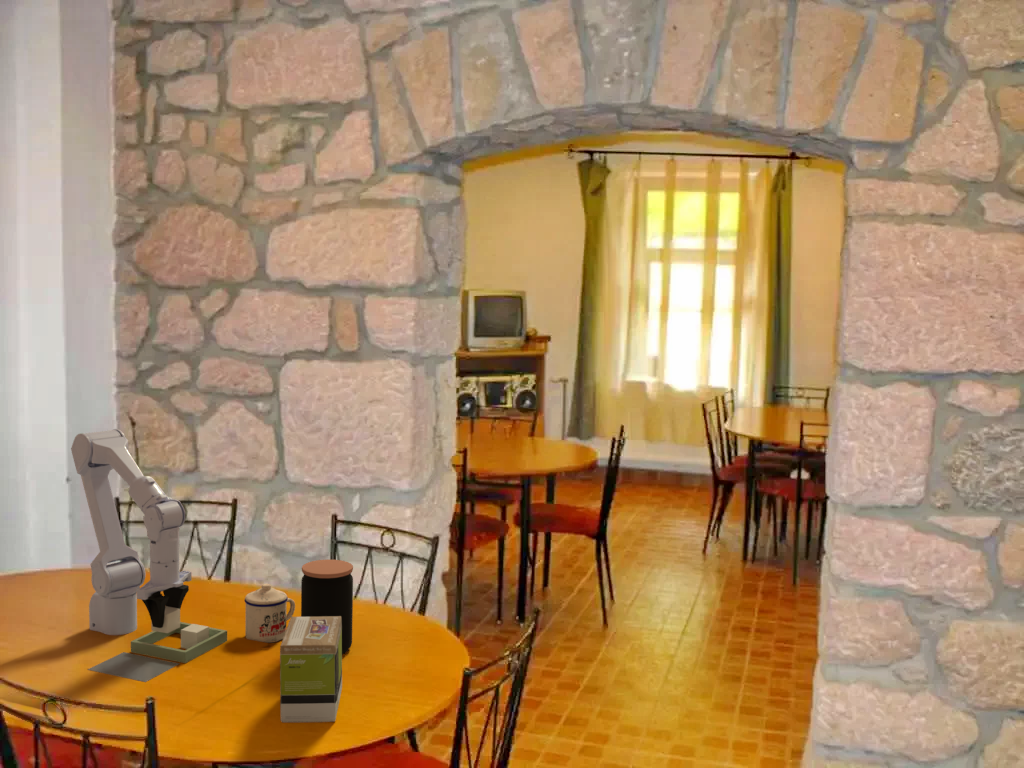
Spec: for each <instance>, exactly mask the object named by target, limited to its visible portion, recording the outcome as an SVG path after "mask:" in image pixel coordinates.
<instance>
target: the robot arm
mask: <svg viewBox="0 0 1024 768" xmlns="http://www.w3.org/2000/svg"><path fill="white" fill-rule="evenodd" d="M70 450H71V455H72V458H73V462H74V466H75V470H76V473H77V474H78V475H80V478H81V483H82V486H83V490H84V493H85V498H86V500H87V505H88V509H89V513H90V518H91V521H92V522H91V523H92V525H93V529H94V533H95V537H96V542H97V544H98V545H97V546H98V549H99V552H98V554H97V555H96V556H95V558H94V559H93V560H92V561H91V562H90V570H91V584H92V588H93V590H94V591H95V592H94V593H93V594H92V595H91V597H90V600H89V605H88V611H89V615H88V618H89V619H88V620H89V626H88V627H89V630H90V631H95V632H98V633H101V634H105V635H108V636H122V635H127V634H130V633H133V632H134V631H137V629H138V607H137V606H138V600H141V601H142V603H143V604H144V605H145V607H146V610H147V611H148V614H149V617H150V620H151V621H152V625H153V627H157V628H162V627H163V624H164V613H165V607H166V606H168V607H173V608H179V609H180V610H181V607H182V604H183V601H184V600H185V597H186V595H187V593H188V592H189V590H190V588H189V585H188V584H184V583H186V582H187V583H188V582H190V581H191V582H192V571H189V570H181V571H180V528H181V527H182V526H183V525H184V524H185V521H186V510H185V508H184V506H183V504H182V502H181V501H180V499H179V500H178V499H176V498H173V497H172V496H171V497H170V496H168V495H167V494H166V493H165V492H164V490H163V489H162V488H161V487H160V486H159V484H158V482H157V481H156V480H155V479H154V478H153V477H152V476H149V475H144V474H143V472H142V470H141V469H140V468H139V466H138V464H137V463H136V461H135V460H134V458H133V456H132V455H131V454H130V452H129V439H128V438H126V436H125V433H123V431H122V430H121V429H119V428H114V429H111V430H104V431H103V430H102V431H96V432H95V431H94V432H88V433H86V432H85V433H83V432H81V433H78V434H76V436H75V437H74V439H73V442H72V445H71V448H70ZM112 470H114V471H115V472H116V473H117V474H118V475H119V476H120V477H121V478H122V479H123V480H124V482H126V484H127V485H128V486H129V488H128V490H127V493H128V495H129V496H130V498H131V499H132V500H133V501H134V503H135V505H137V507H138V508H139V510H140V511H141V512H142V513H143V516H142V517H143V518H142V519H143V524H144V526H145V529H146V537H147V539H148V540H149V576H150V577H149V580H148V582H146V583H145V584H144V582H145V579H146V569H145V564H144V563H143V562H142V561H141V559H140V557H139V553H138V551H137V550H136V549H133V548H131V547H130V546H128V545H126V543H125V539H124V535H123V531H122V526H121V523H120V519H119V515H118V511H117V507H116V503H115V499H114V496H113V492H112V488H111V487H112V486H111V484H110V481H109V480H110V479H109V475H110V472H111V471H112ZM118 561H119V562H118ZM143 584H144V585H143Z"/></svg>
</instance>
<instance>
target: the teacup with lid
mask: <svg viewBox="0 0 1024 768" xmlns="http://www.w3.org/2000/svg"><path fill="white" fill-rule="evenodd" d="M244 602H245V639H246V640H250V641H256V642H261V643H267V644H270V643H272V644H273V643H276V642H279V641H281V640H283V638H284V635H285V633H286V630H287V621H290V619H291V617H292V616H293V615H294V613H295V610H296V602H295V600H294V599H292V598H289V597H288V595H287V594H286V593H285V591H282V590H279V589H276V588H274V587H272V585H271V584H270V583H262V584H261V587H260V588H258V589H256V590H254V591H251V592H249V593H247V594H246V595H245V597H244ZM287 603H289V606H290V607H289V609H288V613H287Z"/></svg>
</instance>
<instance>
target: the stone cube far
mask: <svg viewBox="0 0 1024 768" xmlns="http://www.w3.org/2000/svg"><path fill="white" fill-rule="evenodd" d="M191 624H192V625H190V626H188V627H186V628H184V629H182V630H181V634H180V648H181V649H185V650H187V649H188V648H190V647H192V646H194V645H196V644H198V643H200V642H202V641H204V640H206V639H208V638H209V627H210V626H207V625H202V624H201V625H200V624H197V623H191Z"/></svg>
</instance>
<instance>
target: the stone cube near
mask: <svg viewBox="0 0 1024 768" xmlns="http://www.w3.org/2000/svg"><path fill="white" fill-rule="evenodd" d="M180 622H181V609H179V608H173V607H168V606H166V607H165V613H164V624H163V627H162V628H157V627H153V625H152V621H151V622H150V623H151V632H152V631H157V632H163V633H169V632H171V631H173V630H176V629H178V628H180Z"/></svg>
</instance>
